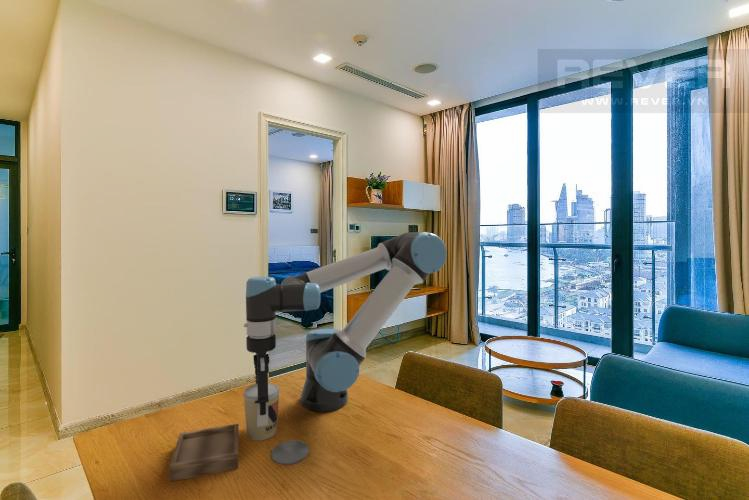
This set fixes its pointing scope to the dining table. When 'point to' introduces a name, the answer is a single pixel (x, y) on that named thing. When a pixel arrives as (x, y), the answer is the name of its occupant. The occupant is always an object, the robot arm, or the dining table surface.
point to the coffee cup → (251, 412)
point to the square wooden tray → (205, 452)
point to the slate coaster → (289, 452)
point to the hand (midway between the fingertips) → (261, 416)
